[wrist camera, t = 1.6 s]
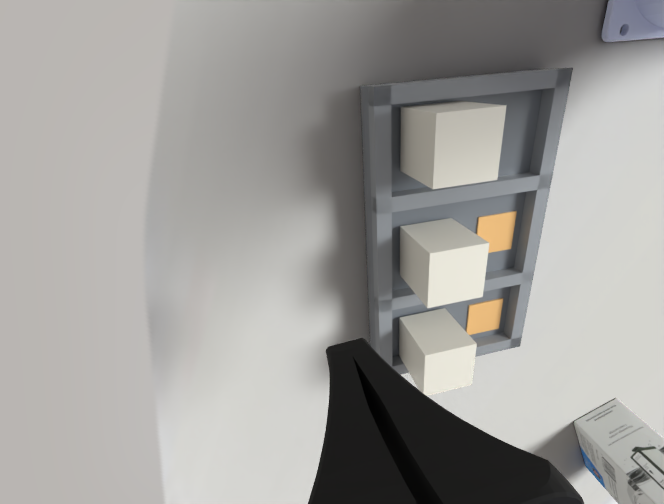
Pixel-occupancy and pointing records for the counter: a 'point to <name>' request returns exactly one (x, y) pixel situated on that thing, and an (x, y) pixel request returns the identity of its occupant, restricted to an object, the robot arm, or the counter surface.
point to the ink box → (623, 453)
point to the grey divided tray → (462, 201)
